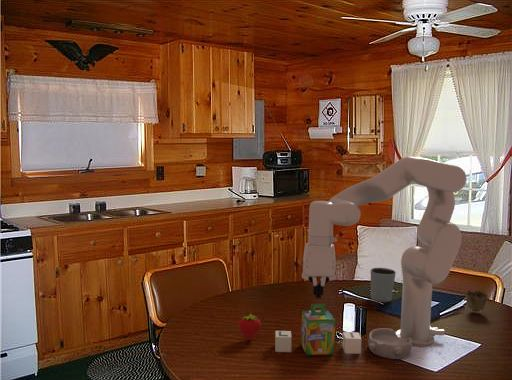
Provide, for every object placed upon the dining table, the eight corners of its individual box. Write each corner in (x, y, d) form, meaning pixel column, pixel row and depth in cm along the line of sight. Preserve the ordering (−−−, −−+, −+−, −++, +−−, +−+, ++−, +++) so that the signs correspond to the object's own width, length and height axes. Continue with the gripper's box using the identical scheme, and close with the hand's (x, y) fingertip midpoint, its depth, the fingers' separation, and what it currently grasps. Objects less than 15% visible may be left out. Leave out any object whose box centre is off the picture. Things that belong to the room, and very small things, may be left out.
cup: (482, 310, 205) (483, 290, 204) (488, 316, 198) (490, 296, 197) (462, 309, 206) (464, 289, 205) (468, 316, 199) (469, 295, 198)
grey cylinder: (364, 296, 220) (365, 268, 218) (383, 293, 224) (384, 266, 222) (379, 304, 211) (381, 275, 209) (399, 300, 215) (400, 272, 213)
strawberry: (237, 337, 176) (237, 308, 175) (259, 335, 177) (259, 307, 176) (239, 344, 170) (239, 315, 169) (262, 343, 171) (262, 313, 170)
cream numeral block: (357, 347, 169) (358, 332, 169) (360, 353, 165) (361, 338, 164) (342, 346, 170) (343, 331, 169) (344, 353, 165) (345, 337, 164)
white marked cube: (290, 345, 170) (290, 330, 169) (291, 352, 165) (291, 336, 164) (275, 345, 170) (275, 330, 169) (275, 352, 165) (275, 336, 164)
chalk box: (306, 356, 162) (307, 310, 160) (300, 344, 171) (301, 300, 169) (335, 355, 163) (336, 309, 161) (327, 342, 172) (329, 299, 170)
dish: (379, 338, 177) (379, 324, 176) (418, 350, 168) (419, 335, 167) (358, 352, 166) (359, 337, 165) (399, 365, 157) (400, 350, 156)
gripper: (342, 238, 166) (339, 294, 169) (295, 237, 167) (293, 292, 169) (346, 243, 159) (343, 301, 161) (297, 242, 159) (295, 300, 161)
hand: (317, 296), depth 165 cm, fingers closed
